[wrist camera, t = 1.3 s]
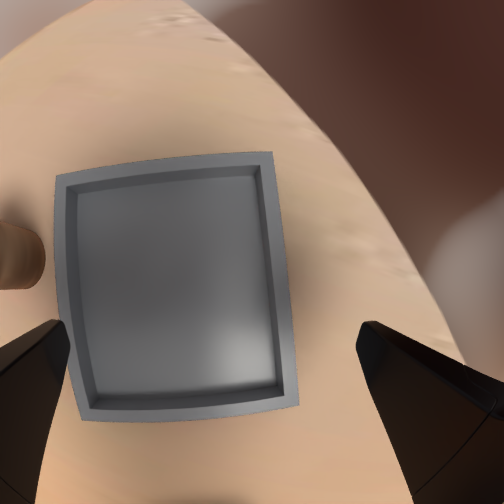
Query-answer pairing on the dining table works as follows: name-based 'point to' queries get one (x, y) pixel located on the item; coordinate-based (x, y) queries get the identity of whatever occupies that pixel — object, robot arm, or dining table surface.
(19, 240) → the brown upright cylinder
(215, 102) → the dining table surface
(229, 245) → the tray
